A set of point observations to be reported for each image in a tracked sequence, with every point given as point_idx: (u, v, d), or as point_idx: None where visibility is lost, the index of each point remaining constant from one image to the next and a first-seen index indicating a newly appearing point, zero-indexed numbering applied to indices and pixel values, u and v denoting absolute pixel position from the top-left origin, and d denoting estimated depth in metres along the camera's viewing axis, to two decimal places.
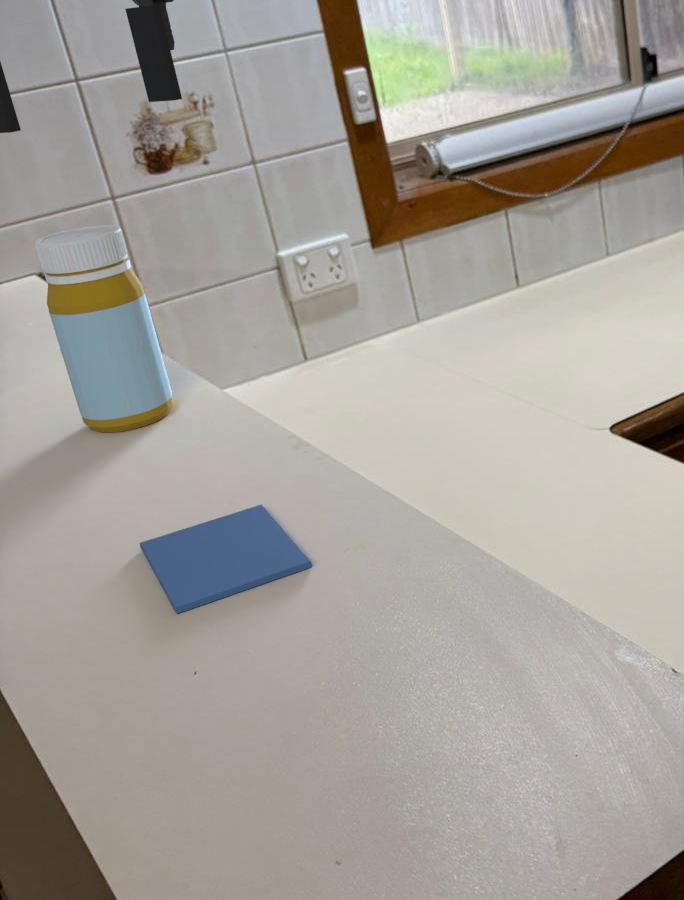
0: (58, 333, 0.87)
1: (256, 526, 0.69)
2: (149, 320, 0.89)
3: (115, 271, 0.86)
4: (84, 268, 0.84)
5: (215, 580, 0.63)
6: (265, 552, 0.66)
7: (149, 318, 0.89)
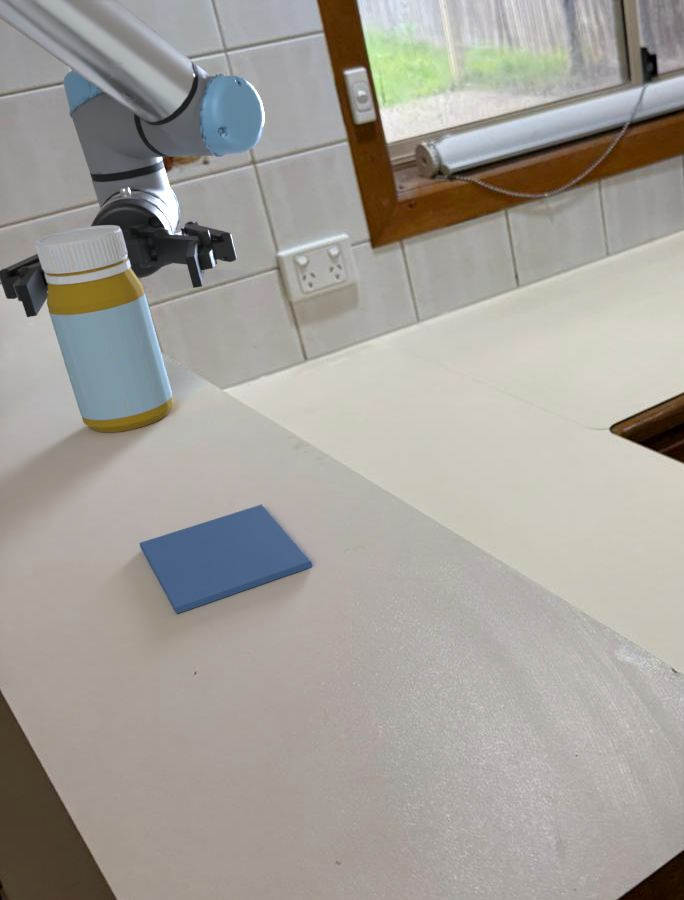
0: (58, 333, 0.87)
1: (256, 526, 0.69)
2: (149, 320, 0.89)
3: (115, 271, 0.86)
4: (84, 268, 0.84)
5: (215, 580, 0.63)
6: (265, 552, 0.66)
7: (149, 318, 0.89)
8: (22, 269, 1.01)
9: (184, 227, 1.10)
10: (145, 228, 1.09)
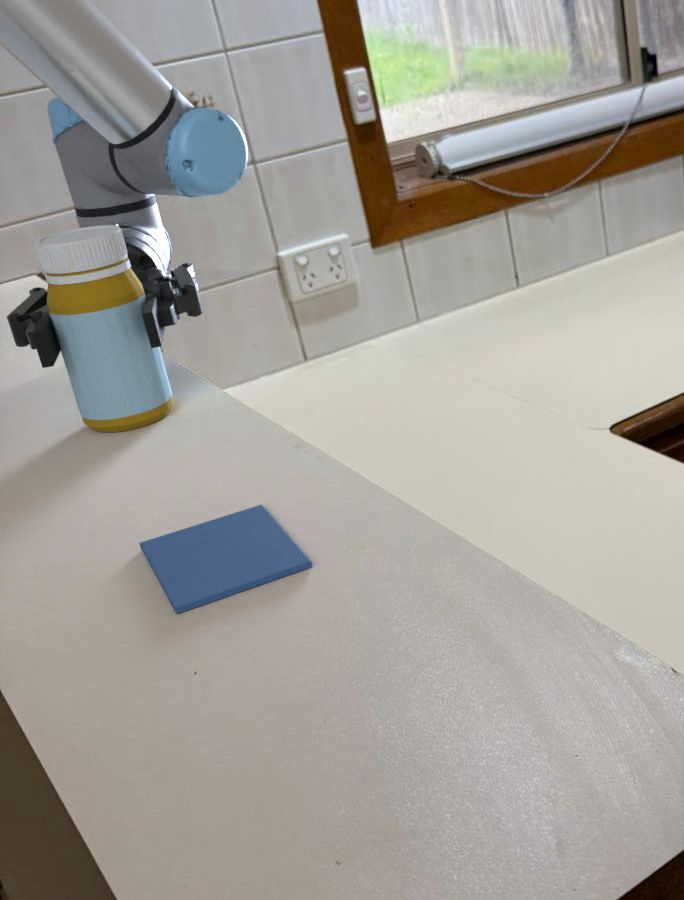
0: (58, 333, 0.87)
1: (256, 526, 0.69)
2: None
3: (115, 271, 0.86)
4: (84, 268, 0.84)
5: (215, 580, 0.63)
6: (265, 552, 0.66)
7: None
8: (36, 313, 0.89)
9: (173, 270, 0.99)
10: (132, 270, 0.98)
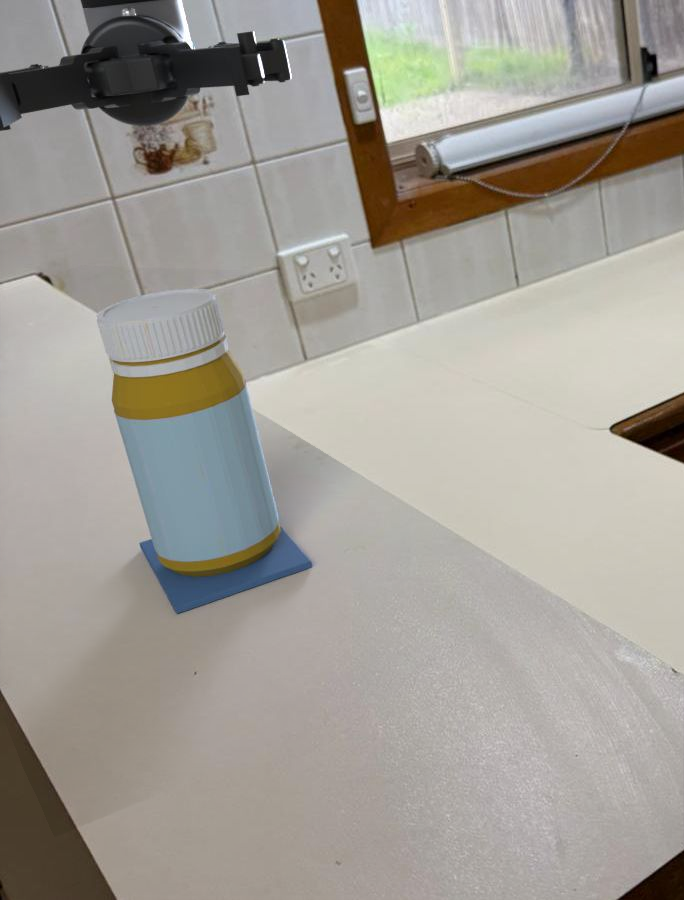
0: (128, 443, 0.61)
1: None
2: (252, 421, 0.64)
3: (210, 357, 0.61)
4: (168, 355, 0.59)
5: (215, 580, 0.63)
6: None
7: (252, 418, 0.64)
8: None
9: (214, 46, 0.79)
10: (160, 43, 0.78)
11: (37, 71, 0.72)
